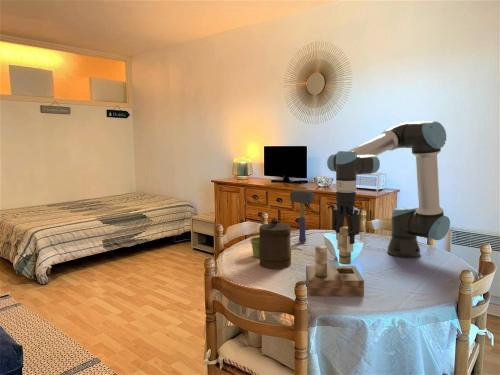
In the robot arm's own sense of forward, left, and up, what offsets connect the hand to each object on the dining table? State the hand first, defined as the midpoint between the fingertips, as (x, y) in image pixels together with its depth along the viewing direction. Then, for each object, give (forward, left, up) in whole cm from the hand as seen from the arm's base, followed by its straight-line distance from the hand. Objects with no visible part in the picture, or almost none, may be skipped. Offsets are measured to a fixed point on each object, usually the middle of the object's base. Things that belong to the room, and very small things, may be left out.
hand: (345, 250), depth 146 cm
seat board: (+5, +2, -15) cm, 16 cm away
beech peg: (0, 0, -5) cm, 5 cm away
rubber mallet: (+13, -62, -15) cm, 65 cm away
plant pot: (+36, -38, -15) cm, 54 cm away
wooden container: (+28, -26, -15) cm, 41 cm away
